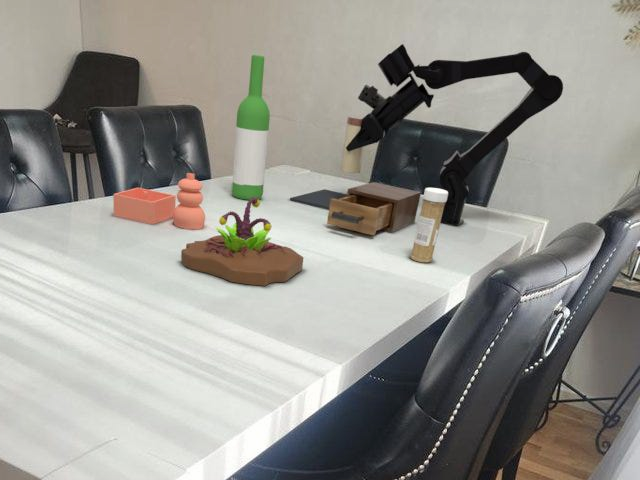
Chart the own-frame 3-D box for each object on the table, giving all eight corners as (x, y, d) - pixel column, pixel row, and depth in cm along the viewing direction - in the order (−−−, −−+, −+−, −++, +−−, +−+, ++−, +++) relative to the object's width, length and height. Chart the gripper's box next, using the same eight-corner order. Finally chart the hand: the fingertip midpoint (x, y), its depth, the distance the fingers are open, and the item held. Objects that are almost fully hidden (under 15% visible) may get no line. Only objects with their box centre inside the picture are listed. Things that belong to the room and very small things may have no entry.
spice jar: (436, 262, 132) (453, 192, 124) (420, 263, 130) (437, 192, 122) (420, 255, 135) (437, 186, 127) (404, 257, 133) (420, 186, 125)
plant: (319, 269, 119) (328, 204, 112) (260, 292, 104) (267, 219, 98) (231, 243, 126) (235, 181, 120) (164, 261, 112) (165, 192, 106)
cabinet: (391, 233, 149) (398, 200, 145) (342, 220, 153) (347, 188, 149) (414, 222, 161) (421, 192, 157) (368, 211, 165) (373, 181, 161)
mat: (324, 191, 181) (324, 189, 180) (390, 206, 174) (390, 204, 173) (289, 200, 166) (290, 197, 165) (360, 217, 159) (361, 214, 158)
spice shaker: (357, 170, 167) (365, 117, 161) (362, 174, 163) (371, 120, 156) (338, 168, 166) (345, 115, 160) (342, 172, 162) (350, 117, 155)
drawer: (365, 238, 138) (370, 212, 135) (318, 226, 142) (322, 201, 139) (396, 225, 152) (401, 201, 149) (352, 214, 156) (356, 191, 153)
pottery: (113, 215, 133) (112, 163, 128) (137, 208, 141) (137, 158, 135) (192, 233, 129) (194, 180, 123) (212, 224, 136) (215, 174, 131)
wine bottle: (261, 202, 159) (275, 58, 143) (230, 198, 159) (239, 53, 142) (262, 196, 166) (275, 57, 149) (232, 192, 165) (242, 52, 149)
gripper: (385, 72, 160) (334, 116, 167) (379, 73, 144) (323, 122, 152) (410, 113, 163) (359, 154, 171) (406, 118, 148) (350, 164, 155)
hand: (348, 148), depth 162 cm, fingers closed on spice shaker, 5 cm apart
